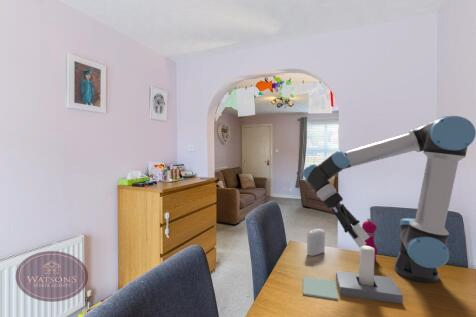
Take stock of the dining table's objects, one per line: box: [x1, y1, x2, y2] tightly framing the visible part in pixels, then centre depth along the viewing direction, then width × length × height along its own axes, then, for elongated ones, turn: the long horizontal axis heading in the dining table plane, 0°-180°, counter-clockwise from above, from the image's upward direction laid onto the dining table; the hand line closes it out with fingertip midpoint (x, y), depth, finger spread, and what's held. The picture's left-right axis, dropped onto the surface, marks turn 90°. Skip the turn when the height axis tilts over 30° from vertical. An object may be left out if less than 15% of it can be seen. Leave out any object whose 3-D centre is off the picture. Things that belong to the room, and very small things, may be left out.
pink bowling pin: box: [361, 217, 378, 263], centre depth 116 cm, size 7×7×20 cm
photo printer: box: [306, 228, 326, 257], centre depth 124 cm, size 10×4×12 cm, turn 123°
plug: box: [358, 245, 375, 287], centre depth 92 cm, size 5×5×16 cm
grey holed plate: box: [335, 270, 404, 305], centre depth 92 cm, size 20×12×3 cm, turn 74°
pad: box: [302, 276, 339, 301], centre depth 93 cm, size 12×12×1 cm
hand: (365, 242), depth 95 cm, fingers open, 13 cm apart
